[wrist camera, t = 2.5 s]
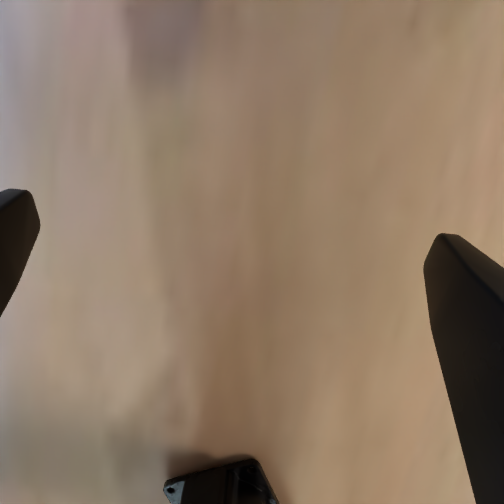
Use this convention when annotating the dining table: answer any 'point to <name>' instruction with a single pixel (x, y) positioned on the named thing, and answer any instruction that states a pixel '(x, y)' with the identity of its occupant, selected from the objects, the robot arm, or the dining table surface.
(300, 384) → the dining table surface
